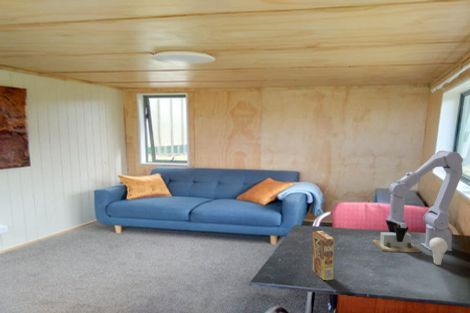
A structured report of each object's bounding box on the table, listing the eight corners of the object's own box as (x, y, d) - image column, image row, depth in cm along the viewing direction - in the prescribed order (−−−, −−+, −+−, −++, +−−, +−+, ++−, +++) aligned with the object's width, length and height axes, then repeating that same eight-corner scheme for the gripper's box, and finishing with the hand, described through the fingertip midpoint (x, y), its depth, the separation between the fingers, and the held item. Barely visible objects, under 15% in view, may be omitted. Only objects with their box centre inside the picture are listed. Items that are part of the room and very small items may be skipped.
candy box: (334, 280, 112) (334, 238, 110) (323, 281, 111) (324, 239, 109) (321, 269, 120) (322, 230, 119) (311, 270, 119) (312, 231, 118)
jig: (407, 242, 148) (407, 236, 148) (420, 252, 136) (420, 246, 136) (372, 241, 150) (373, 236, 149) (382, 251, 138) (382, 245, 138)
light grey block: (407, 243, 145) (407, 232, 144) (411, 246, 141) (411, 235, 140) (380, 242, 145) (380, 232, 145) (383, 245, 141) (383, 235, 141)
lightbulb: (447, 264, 124) (449, 237, 123) (445, 269, 119) (446, 241, 118) (430, 260, 128) (431, 234, 127) (426, 265, 123) (427, 238, 123)
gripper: (381, 205, 149) (380, 233, 150) (394, 213, 135) (393, 244, 136) (397, 205, 149) (396, 233, 150) (411, 213, 134) (410, 244, 135)
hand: (396, 238), depth 143 cm, fingers open, 7 cm apart
